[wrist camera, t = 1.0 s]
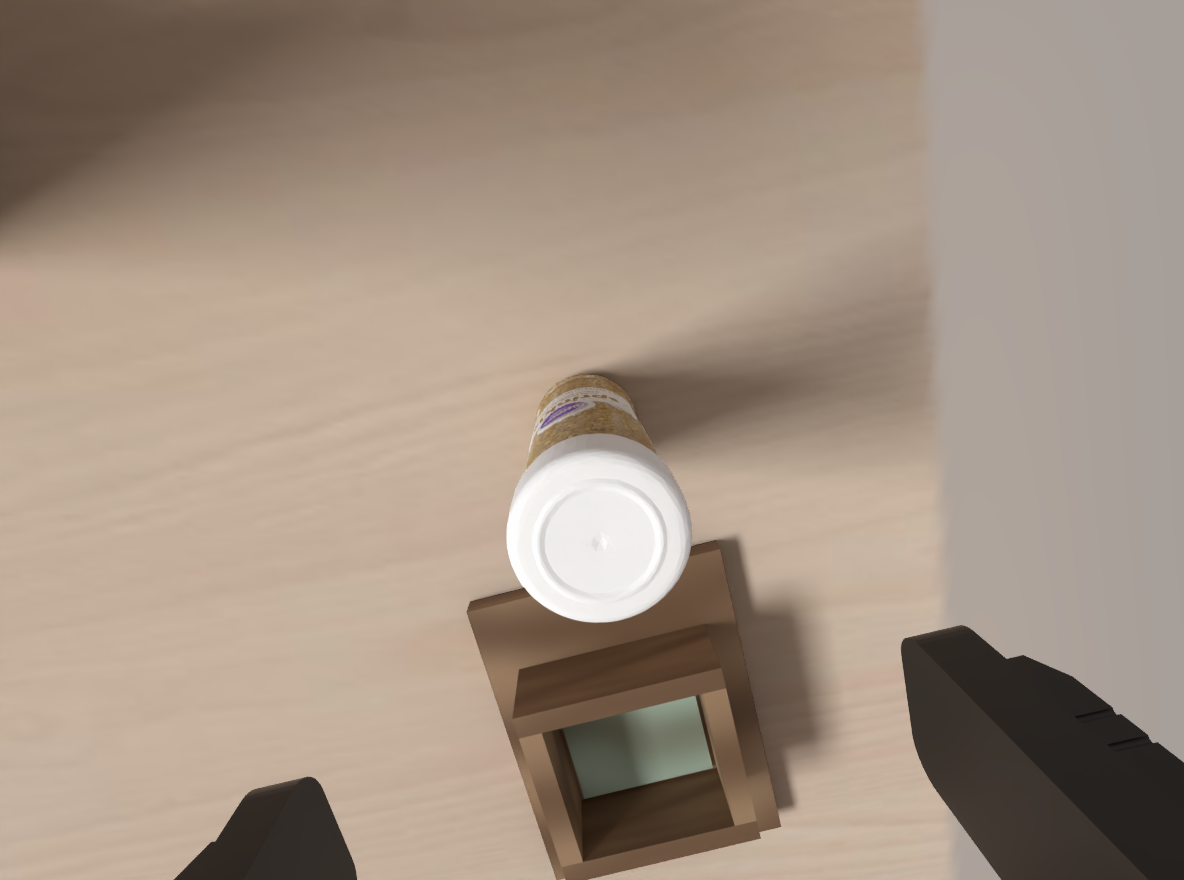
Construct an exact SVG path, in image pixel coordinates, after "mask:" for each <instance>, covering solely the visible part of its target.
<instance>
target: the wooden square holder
mask: <svg viewBox="0 0 1184 880" xmlns="http://www.w3.org/2000/svg"><path fill="white" fill-rule="evenodd" d="M467 615H468V618H469V621H470V624H471V627H472V630H473V633H474V636H475V639H476V642H477V645H478V648H479V651H480V654H481V657H482V660H483V663H484V666H485V668H486V671H487V674H488V677H489V680H490V683H491V686H492V689H493V692H494V695H495V698H496V701H497V704H498V707H499V710H500V713H501V716H502V719H503V722H504V725H505V728H506V731H507V734H508V737H509V740H510V743H511V746H512V749H513V752H514V755H515V758H516V761H517V764H518V767H519V770H520V772H521V775H522V778H523V781H524V784H525V787H526V790H527V793H528V796H529V799H530V802H531V805H532V808H533V811H534V814H535V817H536V820H537V823H538V826H539V829H540V832H541V835H542V838H543V841H544V844H545V847H546V850H547V853H548V856H549V859H550V862H551V865H552V868H553V871H554V874H555V877H556V879H557V880H559V879H564V878H565V879H566V880H588V879H592V878H596V877H600V876H604V875H609V874H613V873H617V872H621V871H625V870H630V869H634V868H638V867H642V866H647V865H651V864H655V863H659V862H663V861H668V860H672V859H676V858H680V857H684V856H689V855H693V854H697V853H701V852H706V851H710V850H714V849H718V848H722V847H727V846H731V845H735V844H739V843H743V842H748V841H752V840H756V839H760V838H761V837H760V833H759V832H762V831H766V830H770V829H774V828H778V827H781V824H780V820H779V815H778V811H777V806H776V802H775V797H774V792H773V788H772V783H771V779H770V774H769V770H768V765H767V761H766V756H765V751H764V747H763V742H762V738H761V733H760V729H759V724H758V719H757V715H756V710H755V706H754V701H753V697H752V692H751V688H750V683H749V678H748V674H747V669H746V665H745V660H744V656H743V651H742V647H741V642H740V637H739V633H738V628H737V624H736V619H735V615H734V610H733V606H732V601H731V596H730V592H729V587H728V583H727V578H726V574H725V569H724V565H723V560H722V555H721V551H720V548H719V546H718V545H717V543H716V541H711V542H707V543H703V544H699V545H695V546H691V549H690V554H689V558H688V561H687V564H686V566H685V568H684V570H683V573H682V574H681V576H680V578H679V580H678V581H677V583H676V584H675V585H674V587H673V588H672V589H671V590H670V591H669V592H668V593H667V594H666V596H665V597H663V598H662V599H661V600H660V601H659V602H658V603H656V604H655V605H653V606H652V607H650V608H649V609H647V610H646V611H644V612H642V613H640V614H637V615H635V616H632V617H629V618H626V619H623V620H619V621H613V622H597V623H594V622H583V621H578V620H573V619H570V618H567V617H564V616H561V615H559V614H557V613H555V612H553V611H551V610H549V609H548V608H546V607H545V606H543V605H542V604H540V603H539V602H538V601H537V600H536V599H534V598H533V597H532V596H531V595H530V594H529V593H528V591H527V590H526V589H525V588H523V589H519V590H515V591H511V592H507V593H503V594H499V595H495V596H491V597H487V598H483V599H479V600H475V601H471V602H470V603H469V607H468V610H467Z"/></svg>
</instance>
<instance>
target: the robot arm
mask: <svg viewBox="0 0 1184 880" xmlns="http://www.w3.org/2000/svg"><path fill="white" fill-rule="evenodd" d="M901 655H902V663H903V670H904V677H905V684H906V692H907V699H908V706H909V713H910V721H911V728H912V735H913V740H914V744H915V747H916V750H917V753H918V756H919V759H920V761H921V763H922V766H923V768H924V770H925V772H926V774H927V776H928V778H929V780H930V781H931V783H932V785H933V786H934V788H935V789H936V791H937V792H938V794H939V795H940V796H941V798H942V799H943V800H944V802H945V803H946V804H947V806H948V807H949V809H950V810H951V811H952V813H953V814H954V815H955V817H956V818H957V820H958V821H959V822H960V824H961V825H962V826H963V828H964V829H965V831H966V832H967V833H968V835H969V836H970V837H971V839H972V840H973V841H974V843H975V844H976V845H977V847H978V848H979V850H980V851H981V852H982V854H983V855H984V856H985V858H986V859H987V861H988V862H989V863H990V865H991V866H992V867H993V869H994V870H995V872H996V873H997V874H998V876H999V877H1000V878H1001V880H1184V763H1183V762H1182V761H1181V760H1180V759H1178V758H1177V757H1176V756H1175V755H1173V754H1172V753H1170V752H1169V751H1168V750H1167V749H1165V748H1164V747H1163V746H1161V745H1160V744H1159V743H1158V742H1157V743H1152V742H1151V740H1150V739H1149V737H1148V735H1147V734H1146V733H1145V732H1143V731H1142V730H1141V729H1140V728H1138V727H1137V726H1136V725H1134V724H1133V723H1132V722H1130V721H1129V720H1128V719H1127V718H1125V717H1124V716H1123V715H1121V714H1120V715H1116V714H1115V712H1114V710H1113V708H1112V707H1111V706H1110V705H1108V704H1107V703H1106V702H1105V701H1103V700H1102V699H1101V698H1099V697H1098V696H1097V695H1096V694H1094V693H1093V692H1092V691H1090V690H1089V689H1088V688H1086V687H1085V686H1084V685H1083V684H1081V683H1080V682H1079V681H1077V680H1076V679H1075V678H1074V677H1072V676H1070V675H1068V674H1065V673H1063V672H1061V671H1058V670H1056V669H1053V668H1051V667H1049V666H1047V665H1044V664H1042V663H1040V662H1038V661H1035V660H1033V659H1031V658H1029V657H1026V656H1024V655H1022V656H1018V657H1013V658H1009V659H1006V658H1005V657H1003V656H1002V655H1001V654H1000V653H999V652H998V651H996V650H995V649H994V648H993V647H992V646H990V645H989V644H988V643H987V642H986V641H984V640H983V639H982V638H981V637H980V636H979V635H977V634H976V633H975V632H974V631H973V630H971V629H970V628H968V627H966V626H962V625H960V626H956V627H951V628H947V629H943V630H938V631H934V632H930V633H926V634H921V635H917V636H913V637H909V638H905V639H904V640H903V642H902V645H901ZM174 880H357V875H356V870H355V865H354V862H353V860H352V857H351V855H350V853H349V850H348V848H347V845H346V843H345V841H344V838H343V836H342V834H341V831H340V829H339V826H338V824H337V822H336V819H335V817H334V815H333V812H332V810H331V807H330V805H329V803H328V800H327V798H326V796H325V793H324V791H323V789H322V787H321V785H320V783H319V782H318V781H317V780H316V779H315V778H312V777H305V778H301V779H296V780H292V781H288V782H284V783H279V784H275V785H271V786H267V787H262V788H258V789H254V790H252V791H251V792H249V793H248V794H247V795H246V796H245V797H244V798H243V800H242V801H241V803H240V804H239V806H238V807H237V809H236V810H235V812H234V813H233V815H232V817H231V818H230V820H229V821H228V823H227V824H226V826H225V828H224V829H223V831H222V832H221V834H220V835H219V837H218V838H217V840H216V841H215V842H211V843H210V844H209V845H208V846H207V847H206V848H205V849H204V850H203V851H202V852H201V853H200V854H199V855H198V856H197V857H196V858H195V859H194V860H193V861H192V862H191V863H190V864H189V865H188V866H187V867H186V868H185V869H184V870H183V871H182V872H181V873H180V874H179V875H178V876H177V877H176V878H175V879H174Z"/></svg>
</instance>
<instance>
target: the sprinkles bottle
mask: <svg viewBox="0 0 1184 880" xmlns="http://www.w3.org/2000/svg"><path fill="white" fill-rule="evenodd" d="M691 542H692V523H691V518H690V513H689V510H688V507H687V504H686V501H685V499H684V496H683V494H682V492H681V490H680V488H679V486H678V484H677V482H676V480H675V478H674V476H673V474H672V473H671V471H670V469H669V468H668V467H667V465H666V464H665V463H664V462H663V461H662V460H661V459H660V458H659V456H658V454H657V451H656V450H655V448H654V446H653V444H652V442H651V440H650V438H649V437H648V435H647V433H646V431H645V429H644V427H643V426H642V424H641V423H640V421H639V420H638V418H637V415H636V411H635V408H634V405H633V403H632V401H631V399H630V397H629V395H628V394H627V393H626V392H625V391H624V390H623V389H622V388H621V387H620V386H619V385H618V384H616V383H614V382H612V381H611V380H609V379H607V378H605V377H603V376H599V375H589V374H583V375H578V376H573V377H568V378H566V379H564V380H562V381H560V382H558V383H557V384H555V385H554V386H553V387H552V388H551V389H550V390H549V391H548V393H547V394H546V395H545V396H544V398H543V400H542V402H541V404H540V406H539V408H538V411H537V415H536V424H535V427H534V431H533V435H532V439H531V443H530V447H529V452H528V461H527V468H526V471H525V472H524V474H523V475H522V477H521V479H520V481H519V483H518V485H517V487H516V490H515V493H514V496H513V500H512V503H511V507H510V512H509V517H508V523H507V549H508V554H509V558H510V561H511V565H512V567H513V569H514V571H515V573H516V575H517V577H518V579H519V581H520V583H521V584H522V586H523V587H524V588H525V589H526V590H527V591H528V593H529V594H530V595H531V596H532V597H533V598H534V599H536V600H537V601H538V602H539V603H540V604H542V605H543V606H545V607H546V608H548V609H549V610H551V611H553V612H555V613H557V614H559V615H561V616H564V617H567V618H570V619H573V620H578V621H583V622H594V623H597V622H613V621H619V620H623V619H626V618H629V617H632V616H635V615H637V614H640V613H642V612H644V611H646V610H647V609H649V608H650V607H652V606H653V605H655V604H656V603H658V602H659V601H660V600H661V599H662V598H663V597H665V596H666V594H667V593H668V592H669V591H670V590H671V589H672V588H673V587H674V585H675V584H676V583H677V581H678V580H679V578H680V576H681V574H682V573H683V570H684V568H685V566H686V564H687V561H688V558H689V554H690V549H691Z"/></svg>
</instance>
